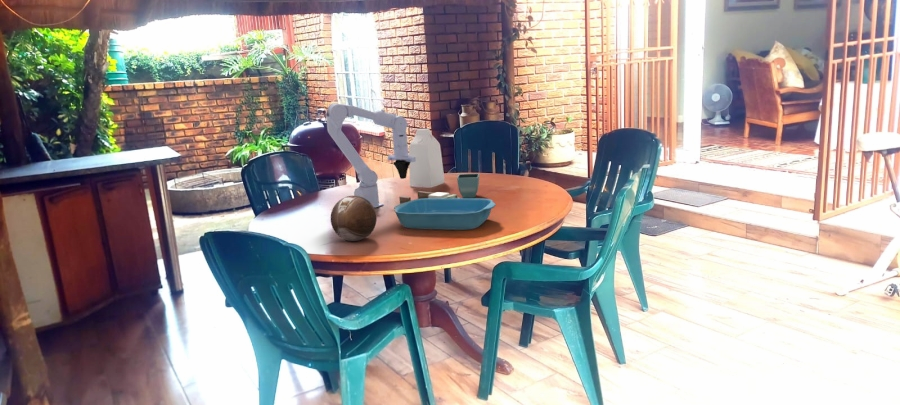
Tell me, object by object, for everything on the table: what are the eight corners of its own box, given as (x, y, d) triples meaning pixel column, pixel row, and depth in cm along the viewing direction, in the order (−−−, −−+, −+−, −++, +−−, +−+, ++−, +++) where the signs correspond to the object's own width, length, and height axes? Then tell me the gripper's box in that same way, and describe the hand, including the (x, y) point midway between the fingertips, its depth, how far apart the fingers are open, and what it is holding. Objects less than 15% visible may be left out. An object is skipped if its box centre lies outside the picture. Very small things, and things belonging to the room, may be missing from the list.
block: (441, 207, 250) (440, 196, 249) (429, 206, 254) (428, 195, 253) (449, 204, 255) (449, 193, 254) (438, 202, 259) (437, 192, 258)
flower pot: (480, 194, 269) (479, 173, 267) (479, 198, 260) (478, 177, 258) (459, 195, 270) (458, 174, 268) (458, 199, 261) (456, 178, 259)
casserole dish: (384, 230, 221) (382, 211, 220) (410, 215, 242) (408, 196, 240) (486, 234, 209) (485, 212, 207) (503, 217, 229) (502, 197, 227)
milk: (444, 182, 299) (440, 127, 293) (431, 187, 290) (427, 130, 284) (423, 181, 305) (419, 127, 300) (409, 186, 296) (405, 130, 290)
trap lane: (427, 212, 243) (426, 203, 242) (390, 206, 257) (389, 198, 256) (468, 199, 260) (468, 191, 259) (431, 194, 274) (431, 186, 273)
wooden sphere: (326, 247, 205) (321, 202, 202) (341, 234, 220) (337, 192, 216) (371, 246, 203) (367, 200, 199) (383, 233, 217) (379, 190, 214)
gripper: (420, 144, 257) (422, 177, 260) (395, 143, 267) (398, 175, 270) (407, 147, 252) (410, 180, 255) (382, 145, 261) (385, 178, 264)
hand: (403, 178), depth 262 cm, fingers closed
